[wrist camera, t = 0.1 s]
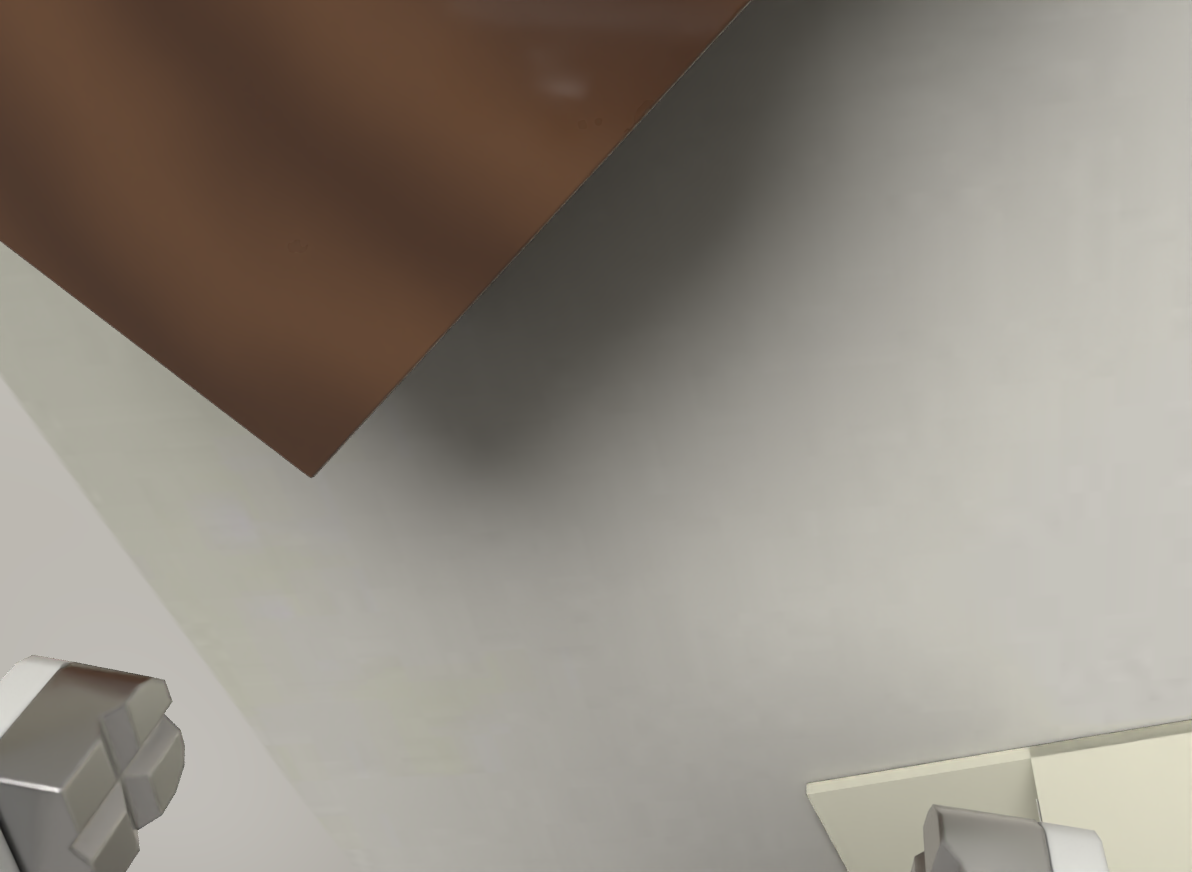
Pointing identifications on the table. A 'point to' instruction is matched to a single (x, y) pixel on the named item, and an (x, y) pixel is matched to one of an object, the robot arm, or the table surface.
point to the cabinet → (311, 173)
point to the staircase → (1028, 798)
